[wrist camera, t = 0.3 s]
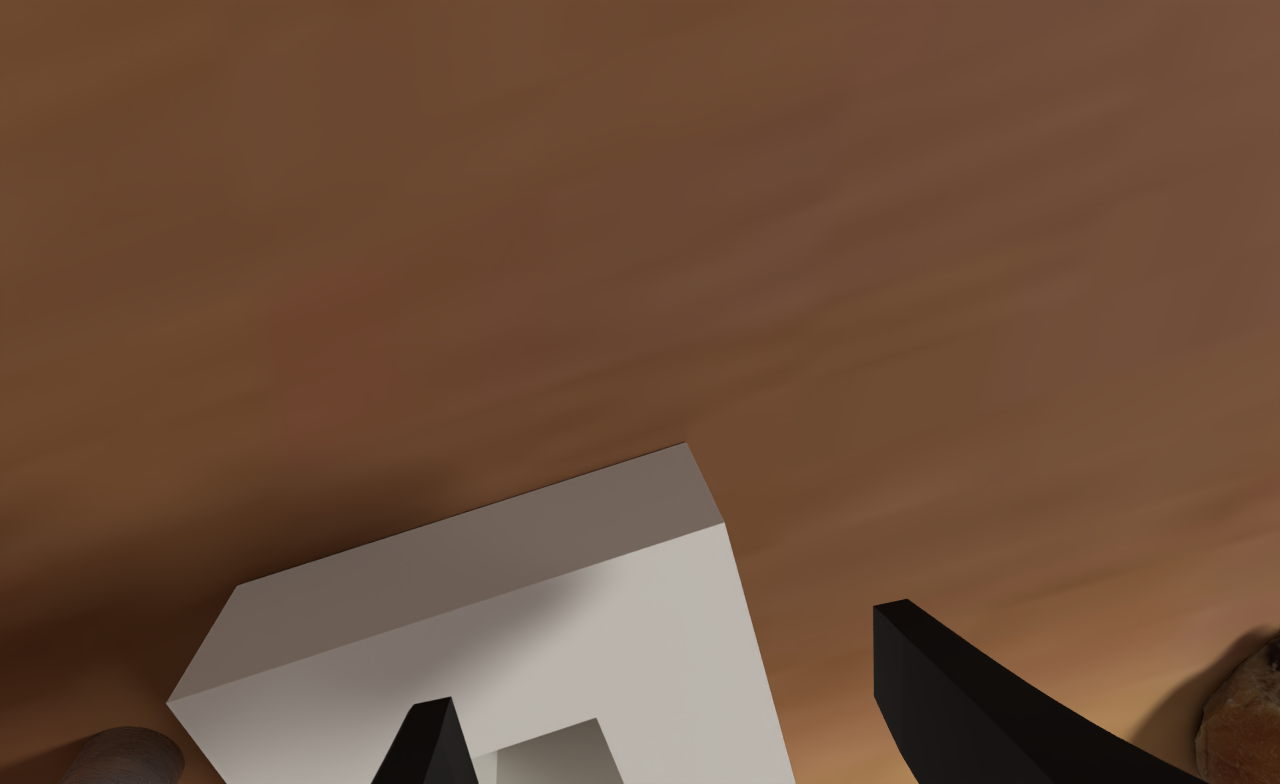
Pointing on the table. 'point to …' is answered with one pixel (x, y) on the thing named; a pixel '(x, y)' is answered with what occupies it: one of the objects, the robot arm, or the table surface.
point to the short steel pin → (127, 759)
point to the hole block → (505, 646)
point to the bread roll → (1244, 724)
